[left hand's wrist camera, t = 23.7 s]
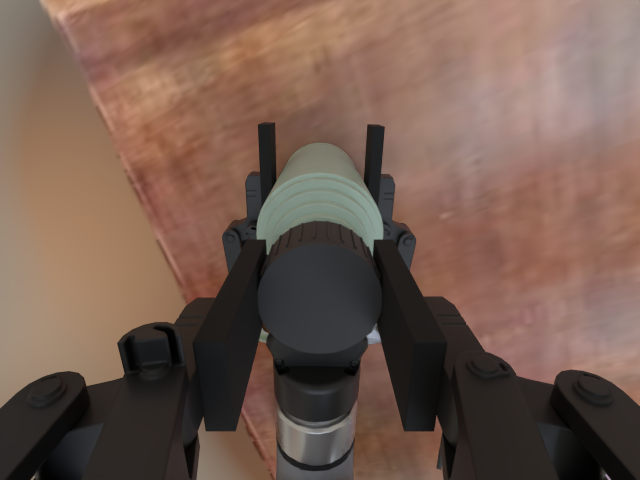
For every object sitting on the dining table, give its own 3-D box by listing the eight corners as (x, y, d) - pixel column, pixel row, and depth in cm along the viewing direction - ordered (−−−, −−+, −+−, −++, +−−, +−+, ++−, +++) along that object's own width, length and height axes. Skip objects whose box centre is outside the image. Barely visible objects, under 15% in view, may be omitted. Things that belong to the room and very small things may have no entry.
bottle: (348, 220, 33) (386, 375, 14) (278, 209, 33) (222, 351, 14) (363, 149, 31) (432, 222, 12) (288, 136, 30) (237, 188, 12)
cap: (395, 280, 15) (409, 313, 12) (309, 335, 16) (308, 374, 13) (331, 196, 13) (333, 215, 11) (242, 261, 14) (227, 291, 12)
